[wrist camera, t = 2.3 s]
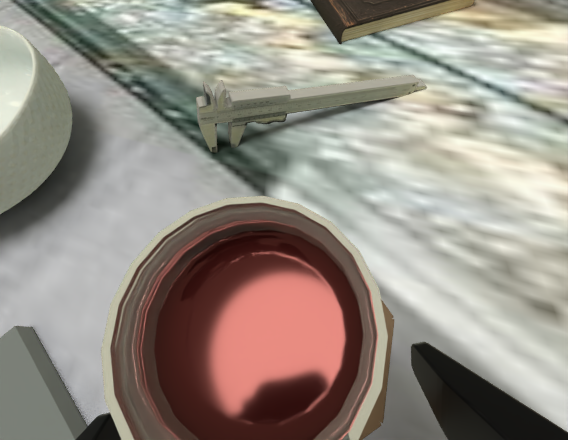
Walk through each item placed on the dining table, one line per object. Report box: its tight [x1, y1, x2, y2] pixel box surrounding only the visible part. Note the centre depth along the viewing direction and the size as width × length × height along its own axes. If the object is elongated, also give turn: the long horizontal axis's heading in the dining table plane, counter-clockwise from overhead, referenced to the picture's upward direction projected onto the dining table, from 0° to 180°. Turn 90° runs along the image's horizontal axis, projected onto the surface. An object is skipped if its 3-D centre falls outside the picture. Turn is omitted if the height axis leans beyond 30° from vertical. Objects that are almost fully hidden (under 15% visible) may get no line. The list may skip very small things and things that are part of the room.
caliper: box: [196, 75, 427, 153], centre depth 22 cm, size 20×1×6 cm, turn 109°
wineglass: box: [101, 196, 388, 440], centre depth 12 cm, size 7×7×12 cm
